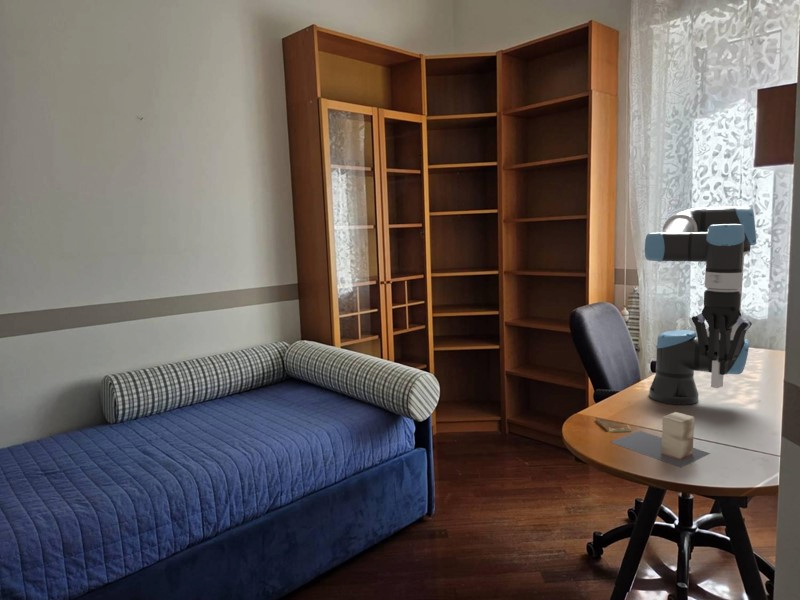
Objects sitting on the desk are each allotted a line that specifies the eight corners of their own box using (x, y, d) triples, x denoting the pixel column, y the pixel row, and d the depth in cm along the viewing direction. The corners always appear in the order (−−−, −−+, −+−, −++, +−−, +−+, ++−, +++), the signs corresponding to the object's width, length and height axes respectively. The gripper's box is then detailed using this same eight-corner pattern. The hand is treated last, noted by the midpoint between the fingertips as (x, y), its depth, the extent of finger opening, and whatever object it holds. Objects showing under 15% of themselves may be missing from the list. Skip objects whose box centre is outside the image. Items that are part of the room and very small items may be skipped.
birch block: (673, 447, 148) (675, 411, 146) (692, 453, 144) (694, 417, 142) (661, 453, 144) (662, 416, 143) (680, 459, 140) (681, 422, 139)
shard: (594, 422, 171) (594, 416, 170) (619, 421, 171) (619, 415, 171) (608, 435, 160) (609, 429, 160) (634, 434, 160) (635, 428, 160)
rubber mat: (639, 432, 160) (639, 430, 160) (710, 455, 144) (710, 453, 144) (610, 443, 153) (610, 442, 153) (681, 469, 136) (681, 467, 136)
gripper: (686, 288, 134) (682, 383, 137) (744, 293, 123) (737, 395, 126) (702, 286, 138) (697, 378, 141) (760, 290, 127) (753, 390, 130)
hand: (716, 386), depth 134 cm, fingers closed
